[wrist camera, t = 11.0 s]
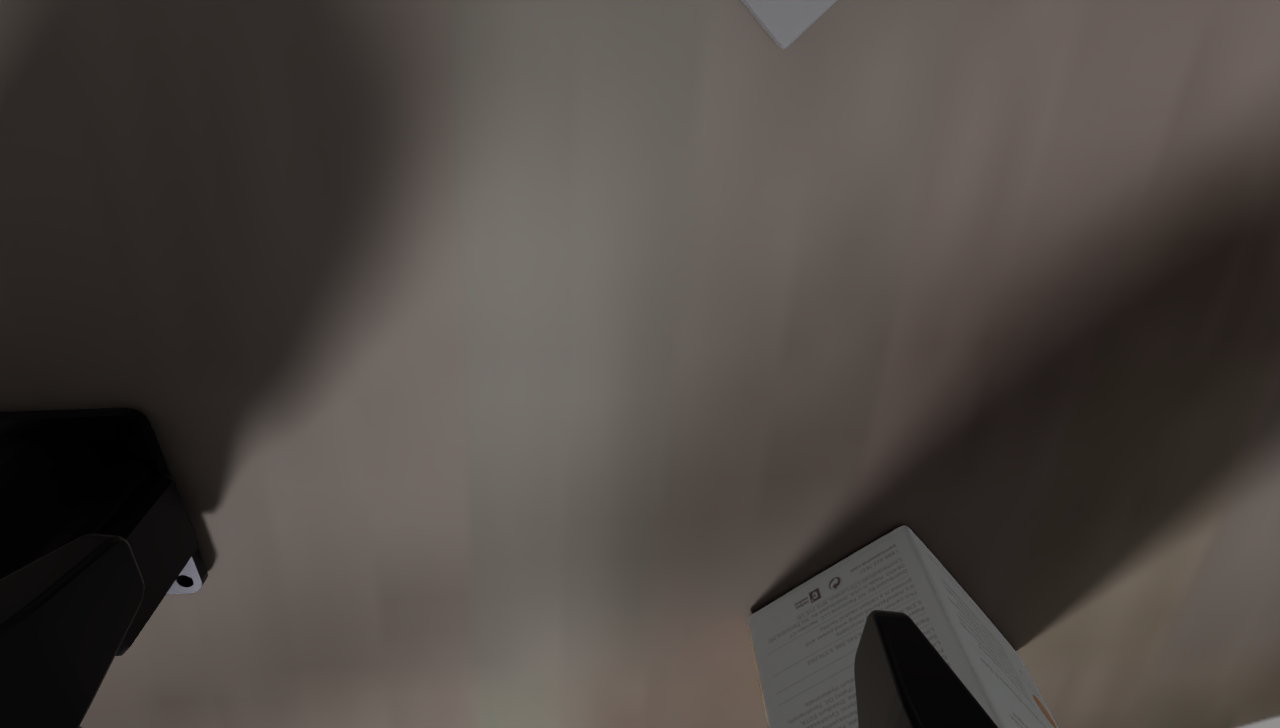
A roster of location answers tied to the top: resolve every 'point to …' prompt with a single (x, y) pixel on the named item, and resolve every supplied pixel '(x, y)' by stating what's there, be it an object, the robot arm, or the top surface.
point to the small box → (834, 621)
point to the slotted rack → (786, 17)
